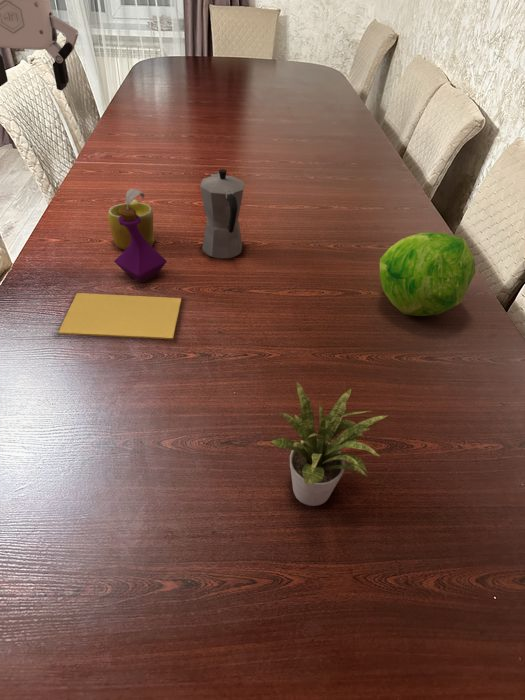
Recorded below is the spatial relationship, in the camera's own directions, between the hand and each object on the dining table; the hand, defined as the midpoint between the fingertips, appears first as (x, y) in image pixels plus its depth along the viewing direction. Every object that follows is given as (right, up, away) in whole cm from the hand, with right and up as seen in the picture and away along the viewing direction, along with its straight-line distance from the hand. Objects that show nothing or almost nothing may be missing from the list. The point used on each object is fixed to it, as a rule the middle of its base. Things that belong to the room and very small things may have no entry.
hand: (32, 86), depth 85 cm
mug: (+9, -18, +32) cm, 38 cm away
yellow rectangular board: (+12, -37, +11) cm, 40 cm away
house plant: (+45, -63, -16) cm, 79 cm away
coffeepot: (+29, -21, +30) cm, 47 cm away
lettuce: (+68, -34, +19) cm, 78 cm away
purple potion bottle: (+13, -28, +22) cm, 38 cm away
